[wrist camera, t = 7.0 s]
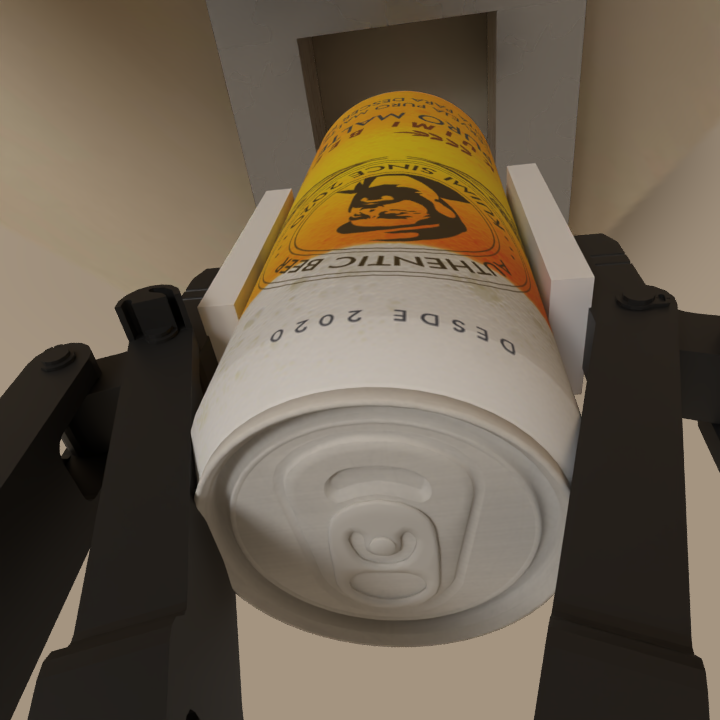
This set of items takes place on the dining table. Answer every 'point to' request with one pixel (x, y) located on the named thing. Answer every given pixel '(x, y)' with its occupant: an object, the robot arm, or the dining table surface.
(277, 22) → the collar
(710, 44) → the dining table surface
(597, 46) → the dining table surface
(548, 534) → the beer can
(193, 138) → the dining table surface
